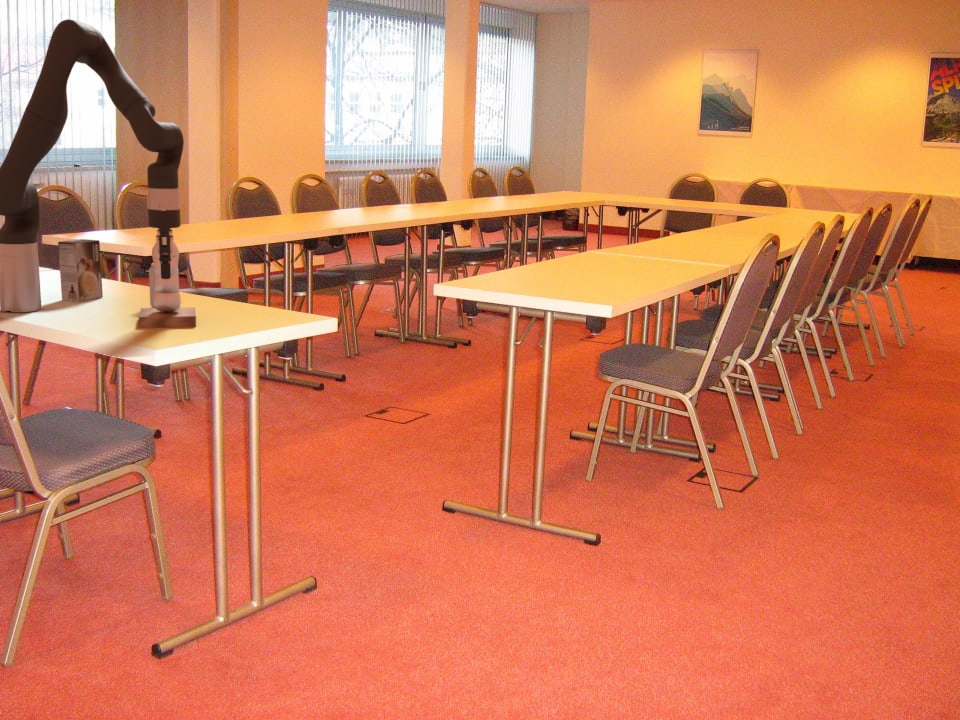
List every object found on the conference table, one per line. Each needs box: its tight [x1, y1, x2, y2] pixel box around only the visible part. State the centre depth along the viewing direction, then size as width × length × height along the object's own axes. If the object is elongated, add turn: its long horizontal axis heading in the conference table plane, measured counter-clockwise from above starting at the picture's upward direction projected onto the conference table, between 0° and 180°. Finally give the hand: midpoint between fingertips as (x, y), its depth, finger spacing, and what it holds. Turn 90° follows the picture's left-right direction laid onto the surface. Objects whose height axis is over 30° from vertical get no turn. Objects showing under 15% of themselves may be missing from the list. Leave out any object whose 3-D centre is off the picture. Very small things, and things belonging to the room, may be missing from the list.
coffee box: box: [57, 238, 104, 303], centre depth 273 cm, size 9×6×16 cm
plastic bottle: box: [151, 228, 182, 312], centre depth 242 cm, size 6×7×20 cm
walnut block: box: [138, 307, 197, 328], centre depth 245 cm, size 13×13×2 cm
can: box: [148, 262, 180, 308], centre depth 264 cm, size 8×8×12 cm
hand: (166, 276), depth 243 cm, fingers closed on plastic bottle, 6 cm apart
